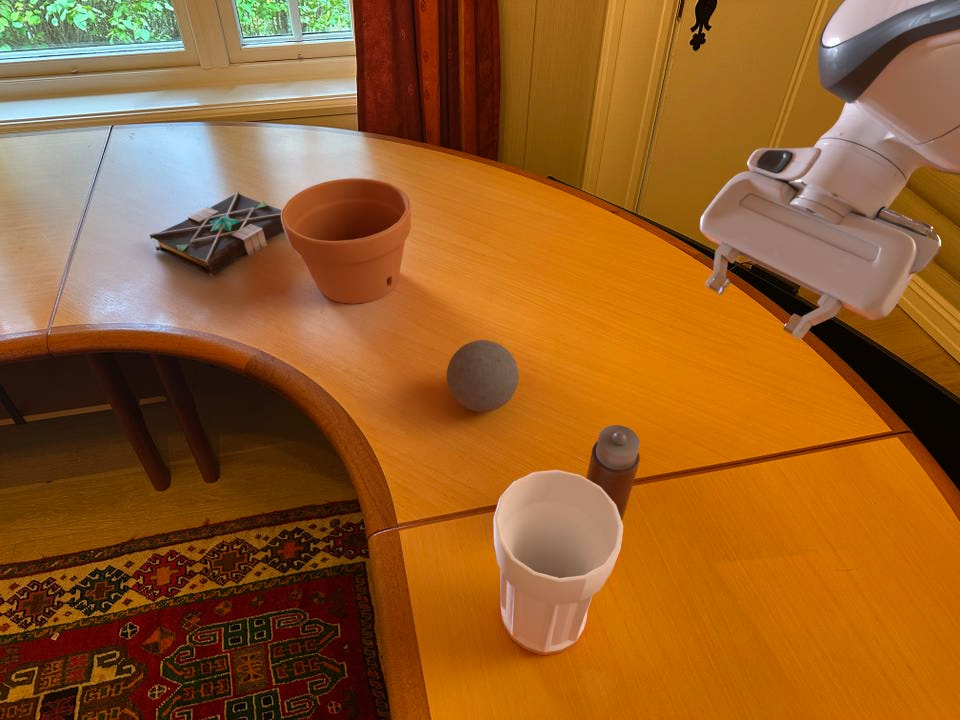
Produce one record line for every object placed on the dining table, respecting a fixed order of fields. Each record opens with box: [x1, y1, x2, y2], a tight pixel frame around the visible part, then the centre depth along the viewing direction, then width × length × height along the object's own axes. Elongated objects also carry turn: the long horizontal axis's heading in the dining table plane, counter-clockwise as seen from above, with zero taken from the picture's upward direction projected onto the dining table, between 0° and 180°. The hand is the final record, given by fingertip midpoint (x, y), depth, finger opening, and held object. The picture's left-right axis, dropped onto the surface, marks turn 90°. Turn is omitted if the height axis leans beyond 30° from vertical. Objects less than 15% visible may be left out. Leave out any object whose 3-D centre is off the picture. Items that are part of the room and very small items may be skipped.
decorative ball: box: [446, 339, 519, 413], centre depth 84 cm, size 10×10×10 cm
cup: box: [493, 469, 624, 656], centre depth 59 cm, size 11×11×17 cm
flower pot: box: [281, 177, 412, 305], centre depth 104 cm, size 21×21×15 cm
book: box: [149, 190, 285, 279], centre depth 118 cm, size 22×17×5 cm
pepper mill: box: [585, 424, 641, 522], centre depth 69 cm, size 5×5×14 cm
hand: (749, 311), depth 61 cm, fingers open, 8 cm apart
